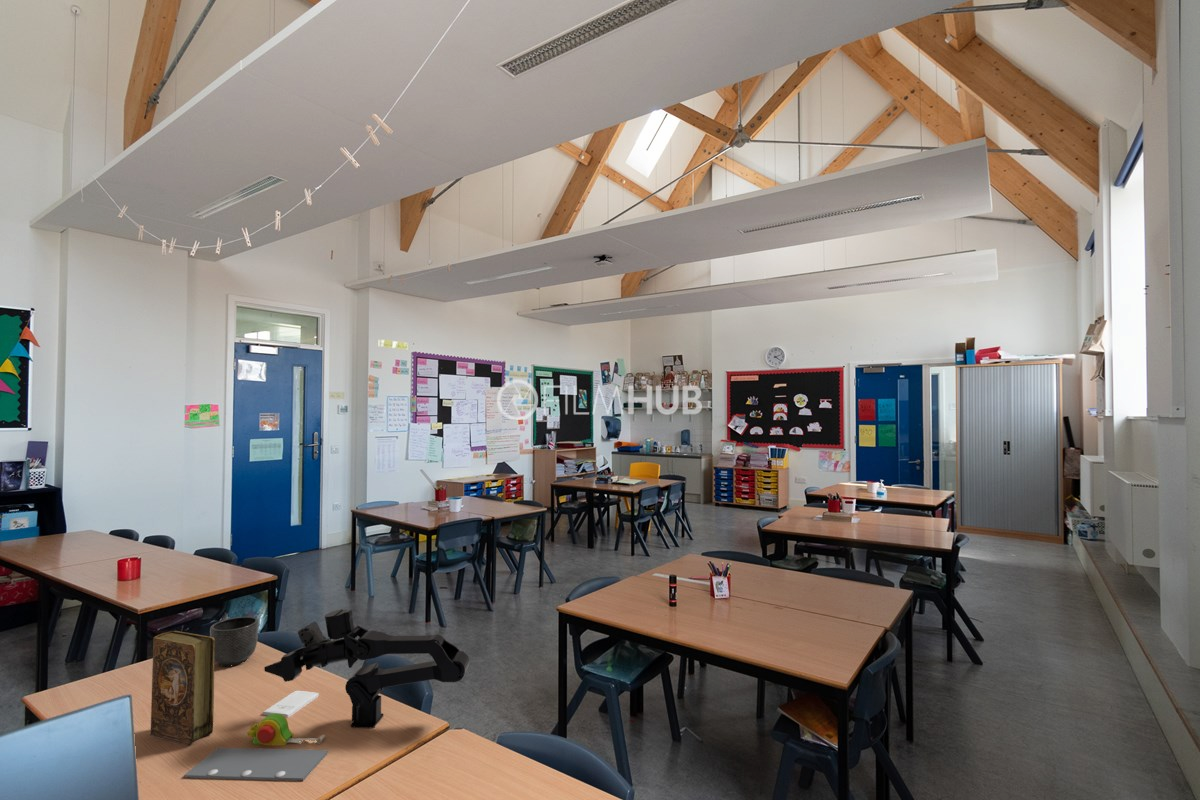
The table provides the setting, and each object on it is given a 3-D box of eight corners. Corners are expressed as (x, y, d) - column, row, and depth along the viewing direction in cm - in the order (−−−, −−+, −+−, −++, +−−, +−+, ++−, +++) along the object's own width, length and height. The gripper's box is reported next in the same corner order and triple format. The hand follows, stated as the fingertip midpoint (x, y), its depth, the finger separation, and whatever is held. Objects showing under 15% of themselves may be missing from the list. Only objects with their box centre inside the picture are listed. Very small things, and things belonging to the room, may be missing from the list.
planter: (198, 669, 186) (199, 629, 187) (232, 652, 200) (233, 615, 200) (235, 672, 184) (236, 631, 184) (267, 654, 198) (268, 617, 198)
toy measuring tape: (256, 734, 147) (257, 709, 148) (329, 735, 147) (330, 710, 147) (240, 748, 141) (240, 721, 141) (316, 750, 140) (317, 723, 141)
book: (146, 734, 147) (149, 637, 148) (169, 724, 152) (171, 630, 153) (191, 746, 142) (194, 645, 143) (212, 735, 147) (215, 637, 148)
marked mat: (328, 752, 139) (328, 749, 139) (303, 781, 128) (303, 777, 128) (218, 749, 140) (218, 746, 140) (183, 777, 129) (183, 774, 129)
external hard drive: (318, 698, 168) (287, 719, 155) (294, 695, 169) (262, 716, 157) (318, 692, 168) (288, 713, 155) (294, 690, 169) (262, 710, 157)
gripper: (343, 612, 164) (289, 623, 163) (310, 631, 145) (250, 643, 145) (348, 652, 163) (294, 662, 162) (316, 676, 144) (255, 688, 144)
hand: (274, 662), depth 153 cm, fingers open, 9 cm apart
